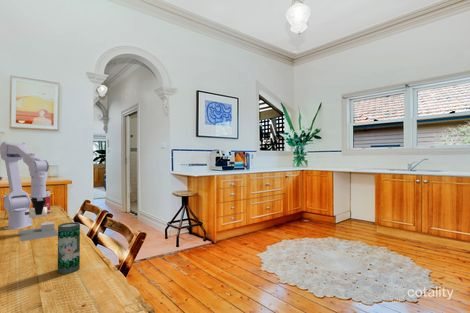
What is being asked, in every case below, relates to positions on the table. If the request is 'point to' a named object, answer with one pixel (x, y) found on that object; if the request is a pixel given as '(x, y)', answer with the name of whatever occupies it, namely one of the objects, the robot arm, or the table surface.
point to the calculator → (47, 203)
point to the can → (68, 247)
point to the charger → (47, 226)
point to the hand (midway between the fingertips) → (38, 213)
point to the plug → (33, 214)
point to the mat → (36, 234)
